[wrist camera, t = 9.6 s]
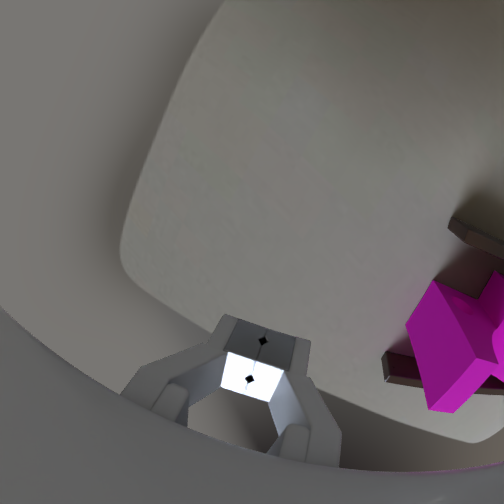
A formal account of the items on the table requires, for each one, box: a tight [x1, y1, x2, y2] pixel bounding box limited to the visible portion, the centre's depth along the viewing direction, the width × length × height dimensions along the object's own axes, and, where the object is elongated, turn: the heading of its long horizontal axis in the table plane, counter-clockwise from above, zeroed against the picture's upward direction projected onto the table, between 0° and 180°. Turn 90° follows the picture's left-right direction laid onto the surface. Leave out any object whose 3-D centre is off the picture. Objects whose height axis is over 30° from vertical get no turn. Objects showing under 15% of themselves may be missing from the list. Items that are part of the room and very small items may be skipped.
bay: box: [381, 217, 504, 395], centre depth 14 cm, size 11×17×2 cm
